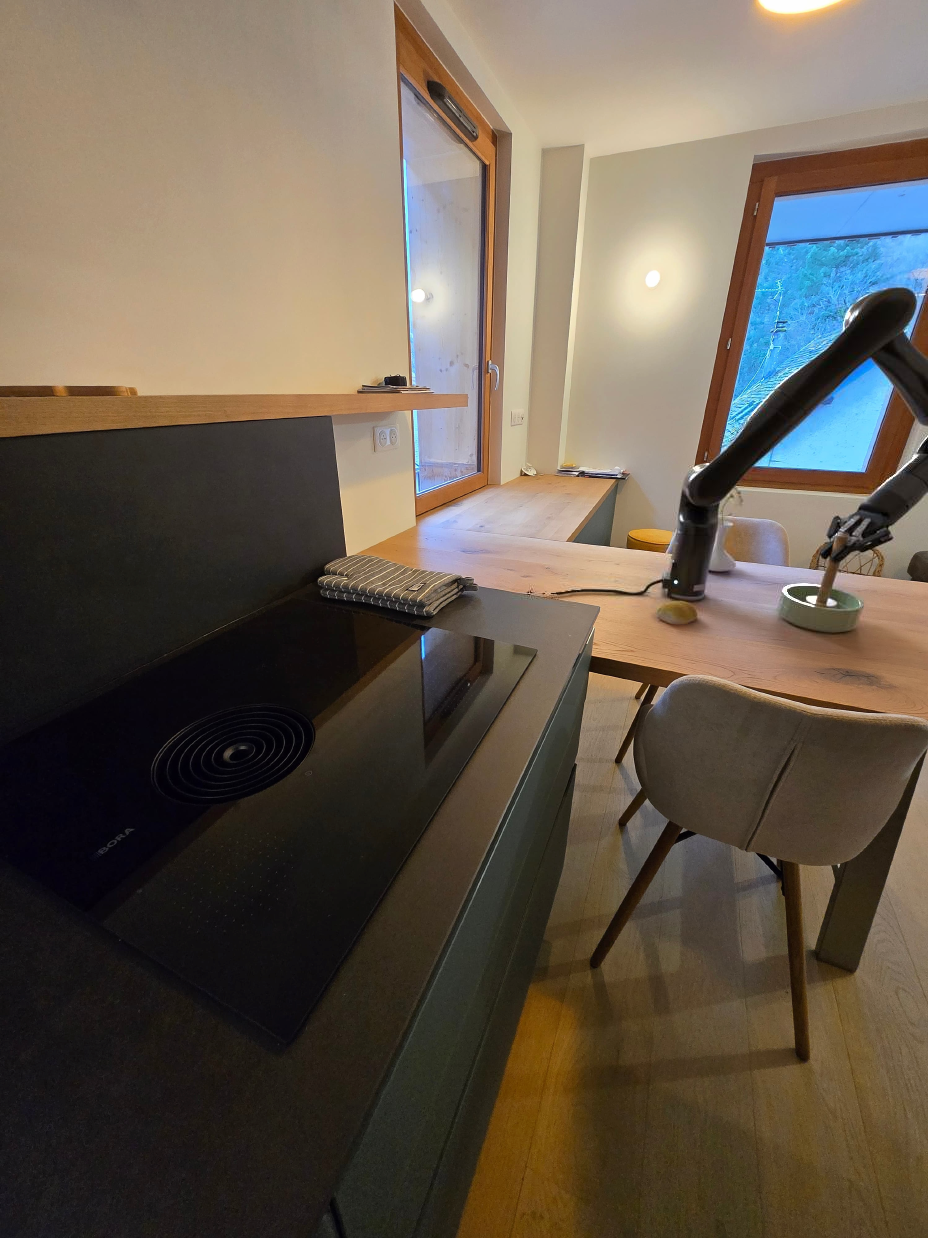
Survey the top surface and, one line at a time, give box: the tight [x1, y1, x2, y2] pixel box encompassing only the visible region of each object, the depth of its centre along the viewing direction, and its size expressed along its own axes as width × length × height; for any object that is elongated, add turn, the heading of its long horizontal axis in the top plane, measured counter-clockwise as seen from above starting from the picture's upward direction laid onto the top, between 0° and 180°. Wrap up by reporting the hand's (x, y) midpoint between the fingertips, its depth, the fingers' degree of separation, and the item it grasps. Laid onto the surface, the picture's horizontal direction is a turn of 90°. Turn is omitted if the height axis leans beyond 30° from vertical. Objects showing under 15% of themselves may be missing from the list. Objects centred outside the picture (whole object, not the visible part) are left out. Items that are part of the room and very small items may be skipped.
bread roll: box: [655, 600, 698, 625], centre depth 117 cm, size 8×9×4 cm
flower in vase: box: [709, 485, 744, 572], centre depth 144 cm, size 13×11×25 cm
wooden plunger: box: [805, 534, 849, 609], centre depth 111 cm, size 6×6×18 cm
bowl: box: [776, 583, 865, 634], centre depth 115 cm, size 16×16×6 cm
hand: (827, 558), depth 109 cm, fingers closed on wooden plunger
